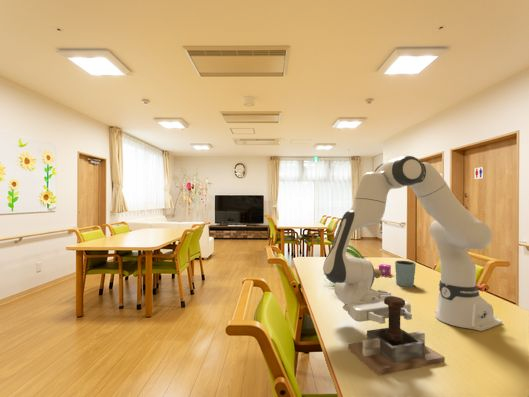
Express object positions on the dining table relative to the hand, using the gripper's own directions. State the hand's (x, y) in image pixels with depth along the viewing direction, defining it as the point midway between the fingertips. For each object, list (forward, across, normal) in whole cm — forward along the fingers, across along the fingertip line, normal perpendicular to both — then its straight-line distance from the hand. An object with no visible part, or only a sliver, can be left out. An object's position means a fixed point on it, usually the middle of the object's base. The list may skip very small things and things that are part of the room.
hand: (396, 319), depth 85 cm
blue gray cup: (-59, +57, +11) cm, 83 cm away
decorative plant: (-64, +27, +11) cm, 71 cm away
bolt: (-1, 0, +10) cm, 10 cm away
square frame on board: (-1, 0, +11) cm, 11 cm away
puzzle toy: (-80, +61, +12) cm, 101 cm away
